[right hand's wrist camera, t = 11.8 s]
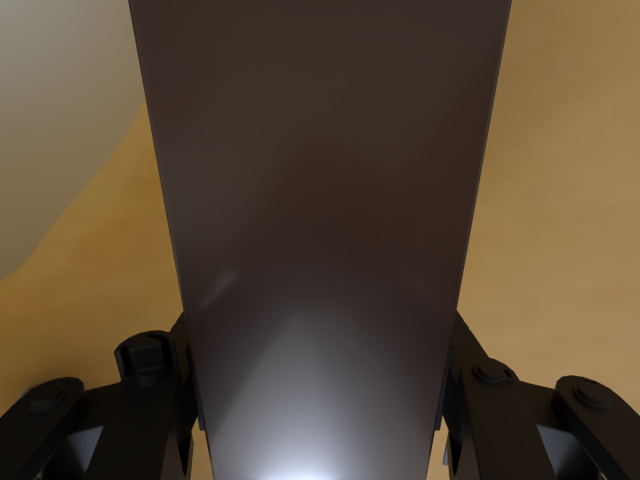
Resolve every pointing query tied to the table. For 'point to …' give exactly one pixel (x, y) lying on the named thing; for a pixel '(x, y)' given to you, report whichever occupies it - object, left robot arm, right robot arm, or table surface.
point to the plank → (319, 217)
